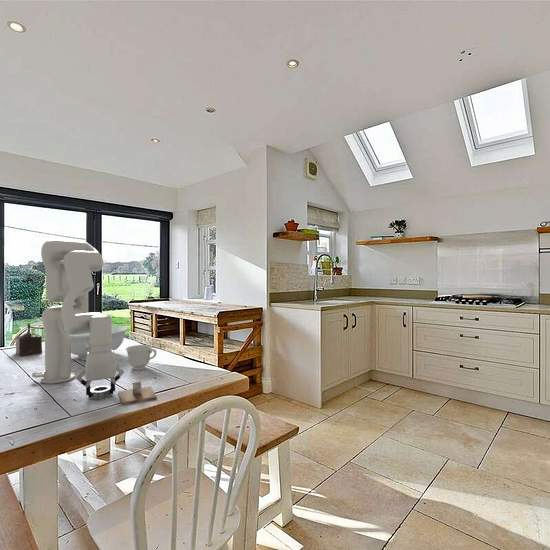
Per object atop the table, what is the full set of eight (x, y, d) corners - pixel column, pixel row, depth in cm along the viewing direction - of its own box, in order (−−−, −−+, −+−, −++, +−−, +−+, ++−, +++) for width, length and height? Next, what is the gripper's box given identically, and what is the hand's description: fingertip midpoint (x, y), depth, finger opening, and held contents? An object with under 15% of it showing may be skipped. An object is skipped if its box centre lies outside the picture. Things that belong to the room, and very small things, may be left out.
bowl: (69, 351, 197) (69, 325, 197) (130, 347, 206) (130, 323, 206) (50, 367, 166) (49, 337, 166) (123, 362, 175) (122, 334, 175)
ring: (90, 401, 126) (90, 393, 125) (89, 395, 132) (89, 387, 132) (111, 398, 129) (111, 390, 129) (110, 392, 135) (110, 384, 135)
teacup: (149, 373, 158) (149, 351, 158) (120, 371, 161) (120, 349, 161) (162, 366, 170) (162, 346, 170) (135, 364, 173) (135, 344, 173)
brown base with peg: (121, 405, 123) (121, 389, 123) (118, 394, 133) (118, 379, 133) (156, 399, 129) (156, 384, 128) (150, 388, 139) (150, 375, 139)
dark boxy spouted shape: (19, 357, 183) (19, 323, 183) (15, 353, 191) (15, 320, 190) (53, 352, 195) (53, 320, 194) (48, 348, 202) (47, 317, 202)
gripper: (73, 352, 122) (73, 402, 123) (126, 347, 131) (126, 394, 131) (74, 348, 129) (74, 395, 129) (124, 343, 137) (124, 388, 138)
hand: (100, 394), depth 130 cm, fingers closed on ring, 7 cm apart
